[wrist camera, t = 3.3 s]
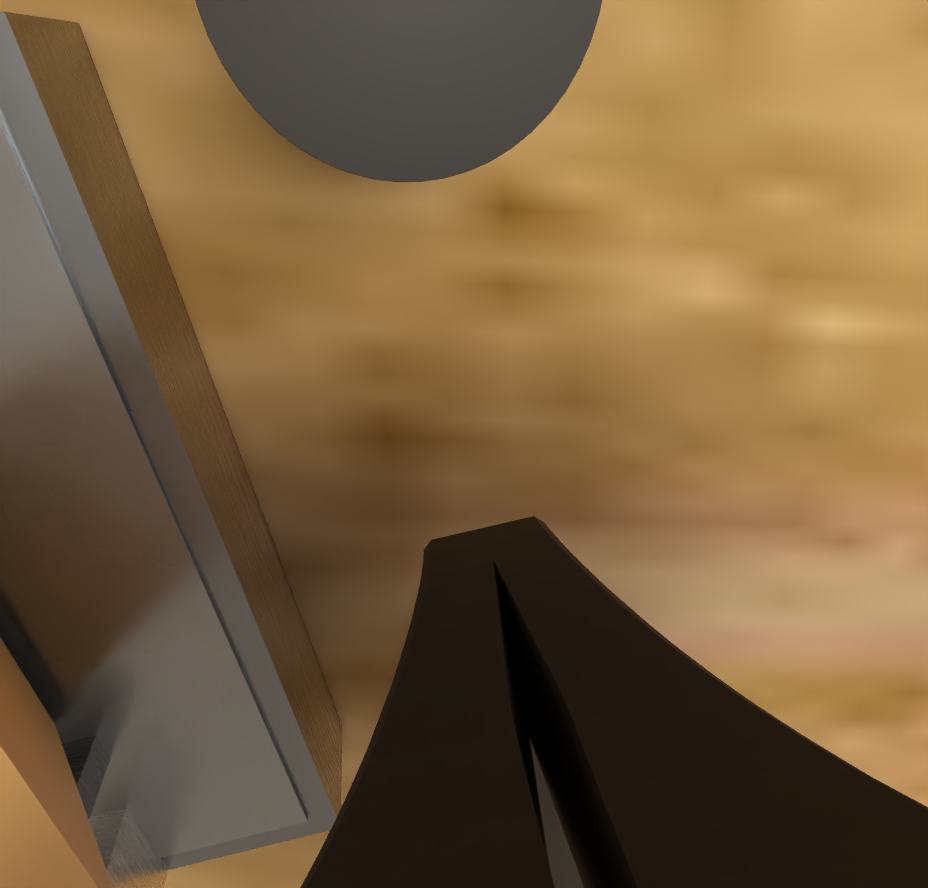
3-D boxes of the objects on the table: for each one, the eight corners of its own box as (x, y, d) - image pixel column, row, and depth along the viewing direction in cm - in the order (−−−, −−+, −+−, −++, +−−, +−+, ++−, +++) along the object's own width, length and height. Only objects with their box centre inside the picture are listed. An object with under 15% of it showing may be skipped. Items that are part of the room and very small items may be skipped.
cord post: (529, 136, 12) (722, 217, 6) (278, 191, 12) (196, 334, 6) (485, -182, 10) (701, -579, 4) (187, -121, 10) (-86, -428, 4)
